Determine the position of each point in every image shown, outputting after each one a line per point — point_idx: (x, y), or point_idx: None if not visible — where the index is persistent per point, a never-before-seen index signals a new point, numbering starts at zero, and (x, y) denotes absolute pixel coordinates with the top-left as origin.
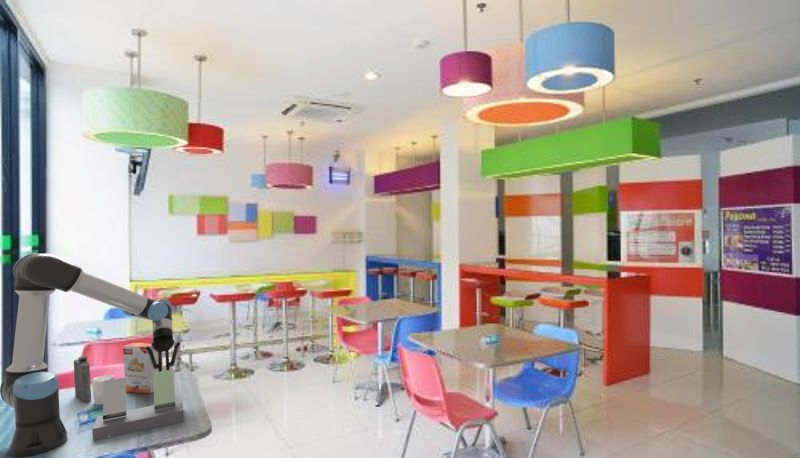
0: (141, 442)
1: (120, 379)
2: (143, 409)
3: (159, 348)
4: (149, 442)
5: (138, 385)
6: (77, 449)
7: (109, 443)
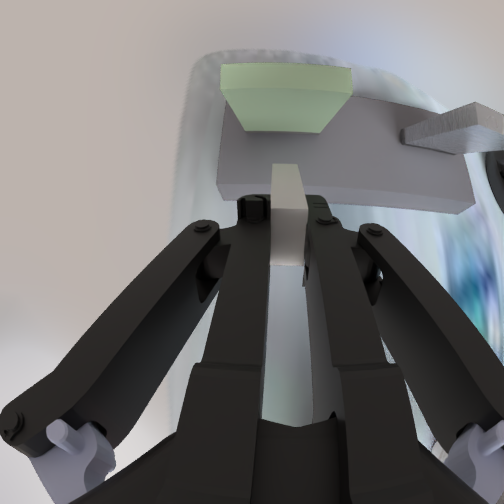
0: (328, 64)
1: (487, 109)
2: (357, 166)
3: (385, 412)
4: (311, 56)
5: None
6: None
7: (396, 96)
